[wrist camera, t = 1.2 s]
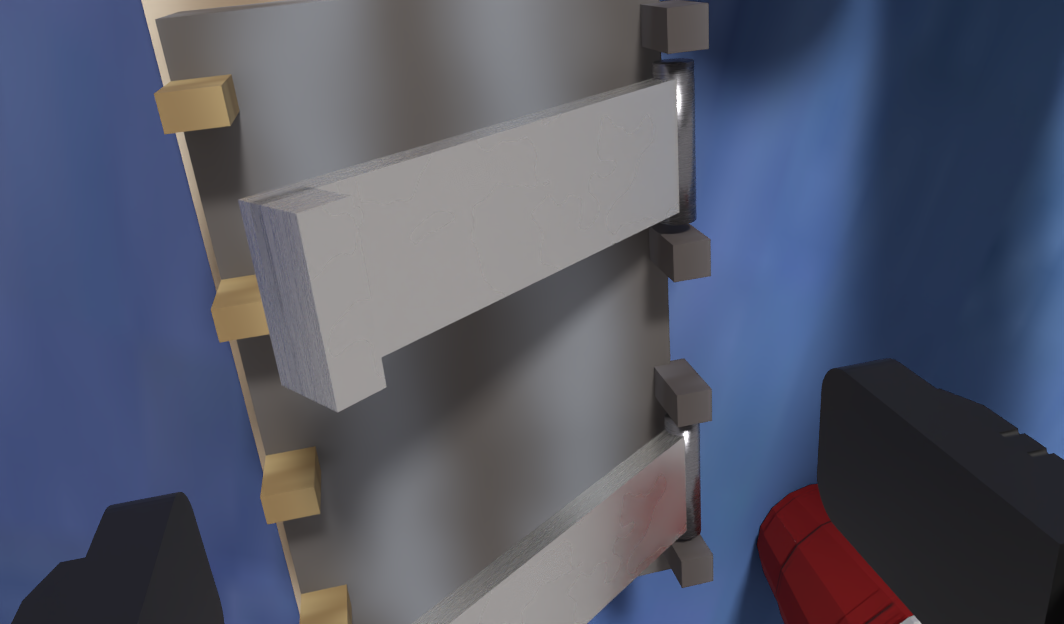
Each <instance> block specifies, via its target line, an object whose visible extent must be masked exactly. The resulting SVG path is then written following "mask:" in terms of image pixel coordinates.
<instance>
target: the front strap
mask: <svg viewBox="0 0 1064 624" xmlns="http://www.w3.org/2000/svg"><path fill="white" fill-rule="evenodd" d="M652 65H653V78H651V79H648V80H644V81H641V82H638V83H634V84H631V85H627V86H624V87H620V88H617V89H614V90H610V91H607V92H603V93H600V94H597V95H593V96H590V97H586V98H583V99H580V100H576V101H573V102H569V103H566V104H562V105H559V106H556V107H552V108H549V109H545V110H542V111H539V112H535V113H532V114H528V115H525V116H522V117H518V118H515V119H511V120H508V121H505V122H501V123H498V124H494V125H491V126H487V127H484V128H481V129H477V130H474V131H470V132H467V133H464V134H460V135H457V136H453V137H450V138H447V139H443V140H440V141H436V142H433V143H429V144H426V145H423V146H419V147H416V148H412V149H409V150H406V151H402V152H399V153H395V154H392V155H389V156H385V157H382V158H378V159H375V160H371V161H368V162H365V163H361V164H358V165H354V166H351V167H348V168H344V169H341V170H337V171H334V172H331V173H327V174H324V175H320V176H317V177H314V178H310V179H307V180H303V181H300V182H296V183H293V184H290V185H286V186H283V187H279V188H276V189H273V190H269V191H266V192H262V193H259V194H256V195H252V196H249V197H245V198H242V199H238V202H239V207H240V211H241V215H242V219H243V224H244V228H245V232H246V236H247V241H248V245H249V249H250V253H251V257H252V262H253V266H254V270H255V274H256V279H257V283H258V287H259V291H260V296H261V300H262V304H263V308H264V312H265V317H266V321H267V325H268V329H269V334H270V338H271V342H272V346H273V351H274V355H275V359H276V363H277V367H278V372H279V376H280V380H281V384H282V386H285V387H287V388H289V389H291V390H293V391H295V392H297V393H299V394H301V395H303V396H305V397H307V398H309V399H311V400H313V401H315V402H317V403H319V404H321V405H323V406H326V407H328V408H330V409H332V410H334V411H336V412H340V411H342V410H344V409H346V408H347V407H349V406H351V405H353V404H355V403H357V402H359V401H361V400H363V399H365V398H367V397H369V396H371V395H373V394H374V393H376V392H378V391H380V390H382V389H384V388H386V387H387V386H386V381H385V375H384V370H383V364H382V359H381V357H383V356H385V355H387V354H390V353H392V352H394V351H396V350H398V349H400V348H402V347H404V346H406V345H408V344H410V343H412V342H414V341H416V340H418V339H420V338H422V337H424V336H427V335H429V334H431V333H433V332H435V331H437V330H439V329H441V328H443V327H445V326H447V325H449V324H451V323H453V322H455V321H457V320H459V319H461V318H463V317H466V316H468V315H470V314H472V313H474V312H476V311H478V310H480V309H482V308H484V307H486V306H488V305H490V304H492V303H494V302H496V301H498V300H500V299H503V298H505V297H507V296H509V295H511V294H513V293H515V292H517V291H519V290H521V289H523V288H525V287H527V286H529V285H531V284H533V283H535V282H537V281H539V280H542V279H544V278H546V277H548V276H550V275H552V274H554V273H556V272H558V271H560V270H562V269H564V268H566V267H568V266H570V265H572V264H574V263H576V262H579V261H581V260H583V259H585V258H587V257H589V256H591V255H593V254H595V253H597V252H599V251H601V250H603V249H605V248H607V247H609V246H611V245H613V244H615V243H618V242H620V241H622V240H624V239H626V238H628V237H630V236H632V235H634V234H636V233H638V232H640V231H642V230H644V229H646V228H648V227H650V226H652V225H655V224H657V223H659V222H660V223H662V224H667V225H683V224H688V223H691V222H694V221H695V220H696V156H695V88H694V60H693V59H687V58H678V59H666V60H660V61H655V62H653V63H652Z"/></svg>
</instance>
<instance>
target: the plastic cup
mask: <svg viewBox="0 0 1064 624" xmlns="http://www.w3.org/2000/svg"><path fill="white" fill-rule="evenodd" d="M757 548H758V551H759V556H760V560H761V564H762V568H763V571H764V574H765V576H766V578H767V580H768V583H769V585H770V587H771V589H772V591H773V594H774V596H775V598H776V600H777V602H778V606H779V610H780V614H781V616H782V619H783V621H784V624H921V623H920V621H919V620H918V619H917V618H916V617H915V616H914V615H913V614H912V612H911V611H910V610H909V609H908V608H907V607H906V606H905V605H904V603H903V602H902V601H901V600H900V599H899V598H898V597H897V596H896V594H895V593H894V592H893V591H892V590H891V589H890V588H889V587H888V585H887V584H886V583H885V582H884V581H883V580H882V579H881V578H880V576H879V575H878V574H877V573H876V572H875V571H874V570H873V569H872V567H871V566H870V565H869V564H868V563H867V562H866V561H865V559H864V558H863V557H862V556H861V555H860V554H859V553H858V552H857V550H856V549H855V548H854V547H853V546H852V545H851V544H850V543H849V541H848V540H847V539H846V538H845V537H844V536H843V535H842V534H841V532H840V531H839V530H838V529H837V528H836V527H835V525H834V524H833V523H832V521H831V520H830V518H829V517H828V515H827V513H826V511H825V508H824V506H823V503H822V500H821V497H820V493H819V488H818V484H811V485H808V486H806V487H803V488H801V489H799V490H796V491H794V492H791V493H789V494H788V495H787V496H786V497H785V498H783V499H782V500H781V501H780V502H779V503H777V504H776V505H775V506H774V507H773V508H772V509H771V511H770V512H769V514H768V515H767V517H766V518H765V520H764V522H763V523H762V525H761V527H760V532H759V536H758V541H757Z"/></svg>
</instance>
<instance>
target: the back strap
mask: <svg viewBox="0 0 1064 624" xmlns="http://www.w3.org/2000/svg"><path fill="white" fill-rule="evenodd" d="M664 421H665V430H663V431H662V432H661V433H659V434H658V435H657V436H656V437H654V438H653V439H652V440H650V441H649V442H648V443H646V444H645V445H644V446H642V447H641V448H640V449H639V450H637V451H636V452H635V453H633V454H632V455H631V456H629V457H628V458H627V459H626V460H624V461H623V462H622V463H620V464H619V465H618V466H616V467H615V468H614V469H613V470H611V471H610V472H609V473H607V474H606V475H605V476H603V477H602V478H601V479H599V480H598V481H597V482H596V483H594V484H593V485H592V486H590V487H589V488H588V489H586V490H585V491H584V492H583V493H581V494H580V495H579V496H577V497H576V498H575V499H573V500H572V501H571V502H569V503H568V504H567V505H566V506H564V507H563V508H562V509H560V510H559V511H558V512H556V513H555V514H554V515H553V516H551V517H550V518H549V519H547V520H546V521H545V522H543V523H542V524H541V525H540V526H538V527H537V528H536V529H534V530H533V531H532V532H530V533H529V534H528V535H526V536H525V537H524V538H523V539H521V540H520V541H519V542H517V543H516V544H515V545H513V546H512V547H511V548H510V549H508V550H507V551H506V552H504V553H503V554H502V555H500V556H499V557H498V558H497V559H495V560H494V561H493V562H491V563H490V564H489V565H487V566H486V567H485V568H483V569H482V570H481V571H480V572H478V573H477V574H476V575H474V576H473V577H472V578H470V579H469V580H468V581H467V582H465V583H464V584H463V585H461V586H460V587H459V588H457V589H456V590H455V591H453V592H452V593H451V594H450V595H448V596H447V597H446V598H444V599H443V600H442V601H440V602H439V603H438V604H437V605H435V606H434V607H433V608H431V609H430V610H429V611H427V612H426V613H425V614H424V615H422V616H421V617H420V618H418V619H417V620H416V621H414V622H413V623H412V624H587V623H588V622H589V621H590V620H591V619H592V618H593V617H594V616H595V615H597V614H598V613H599V612H600V611H601V610H602V609H603V608H604V607H605V606H606V605H607V604H608V603H609V602H610V601H612V600H613V599H614V598H615V597H616V596H617V595H618V594H619V593H620V592H621V591H622V590H623V589H624V588H626V587H627V586H628V585H629V584H630V583H631V582H632V581H633V580H634V579H635V578H636V577H637V576H638V575H640V574H641V573H642V572H643V571H644V570H645V569H646V568H647V567H648V566H649V565H650V564H651V563H652V562H654V561H655V560H656V559H657V558H658V557H659V556H660V555H661V554H662V553H663V552H664V551H665V550H666V549H668V548H669V547H670V546H671V545H672V544H673V543H674V542H675V541H676V540H677V539H684V540H686V539H692V538H695V537H697V536H698V535H699V534H700V532H701V495H700V427H699V423H698V424H693V425H688V426H683V427H677V425H676V424H675V423H674V421H673V420H672V419H671V417H670V416H669V415H668V413H666V414H665V416H664Z"/></svg>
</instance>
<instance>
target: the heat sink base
mask: <svg viewBox="0 0 1064 624" xmlns="http://www.w3.org/2000/svg"><path fill="white" fill-rule="evenodd" d="M141 1H142V4H143V8H144V12H145V16H146V20H147V24H148V28H149V32H150V35H151V39H152V43H153V47H154V51H155V55H156V59H157V63H158V66H159V70H160V74H161V78H162V82H163V86H164V87H162V88H161V89H160V90H158V91H157V92H156V93H154V96H155V99H156V103H157V107H158V111H159V115H160V118H161V122H162V126H163V130H164V134H170V133H176V136H177V140H178V144H179V148H180V152H181V156H182V159H183V163H184V167H185V171H186V175H187V179H188V183H189V187H190V190H191V194H192V198H193V202H194V206H195V210H196V214H197V218H198V221H199V225H200V229H201V233H202V237H203V241H204V245H205V249H206V252H207V256H208V260H209V264H210V268H211V272H212V276H213V280H214V283H215V287H216V291H217V293H216V296H215V299H214V302H213V305H212V308H211V312H212V316H213V320H214V323H215V327H216V331H217V335H218V339H219V342H225V341H229V342H230V345H231V349H232V353H233V357H234V361H235V365H236V369H237V373H238V376H239V380H240V384H241V388H242V392H243V396H244V400H245V404H246V407H247V411H248V415H249V419H250V423H251V427H252V431H253V435H254V438H255V442H256V446H257V450H258V454H259V458H260V462H261V466H262V469H263V481H262V489H261V496H260V498H261V502H262V506H263V509H264V513H265V517H266V521H267V524H272V523H276V524H277V528H278V531H279V535H280V539H281V543H282V547H283V551H284V555H285V559H286V562H287V566H288V570H289V574H290V578H291V582H292V586H293V590H294V593H295V597H296V601H297V605H298V609H299V613H300V624H412V623H413V622H414V621H416V620H417V619H418V618H420V617H421V616H422V615H424V614H425V613H426V612H427V611H429V610H430V609H431V608H433V607H434V606H435V605H437V604H438V603H439V602H440V601H442V600H443V599H444V598H446V597H447V596H448V595H450V594H451V593H452V592H453V591H455V590H456V589H457V588H459V587H460V586H461V585H463V584H464V583H465V582H467V581H468V580H469V579H470V578H472V577H473V576H474V575H476V574H477V573H478V572H480V571H481V570H482V569H483V568H485V567H486V566H487V565H489V564H490V563H491V562H493V561H494V560H495V559H497V558H498V557H499V556H500V555H502V554H503V553H504V552H506V551H507V550H508V549H510V548H511V547H512V546H513V545H515V544H516V543H517V542H519V541H520V540H521V539H523V538H524V537H525V536H526V535H528V534H529V533H530V532H532V531H533V530H534V529H536V528H537V527H538V526H540V525H541V524H542V523H543V522H545V521H546V520H547V519H549V518H550V517H551V516H553V515H554V514H555V513H556V512H558V511H559V510H560V509H562V508H563V507H564V506H566V505H567V504H568V503H569V502H571V501H572V500H573V499H575V498H576V497H577V496H579V495H580V494H581V493H583V492H584V491H585V490H586V489H588V488H589V487H590V486H592V485H593V484H594V483H596V482H597V481H598V480H599V479H601V478H602V477H603V476H605V475H606V474H607V473H609V472H610V471H611V470H613V469H614V468H615V467H616V466H618V465H619V464H620V463H622V462H623V461H624V460H626V459H627V458H628V457H629V456H631V455H632V454H633V453H635V452H636V451H637V450H639V449H640V448H641V447H642V446H644V445H645V444H646V443H648V442H649V441H650V440H652V439H653V438H654V437H656V436H657V435H658V434H659V433H661V432H662V431H663V430H665V421H664V416H665V414H666V413H668V415H669V416H670V417H671V419H672V420H673V421H674V423H675V424H676V425H677V427H683V426H688V425H693V424H698V423H703V422H708V421H712V389H711V388H710V387H709V386H708V385H707V383H706V382H705V381H704V380H703V379H702V378H701V377H700V376H699V374H698V373H697V372H696V371H695V370H694V369H693V368H692V367H691V365H690V364H689V363H688V362H687V361H686V360H685V359H679V360H673V361H670V339H669V305H668V277H669V278H670V279H671V280H672V281H673V282H678V281H684V280H690V279H696V278H702V277H708V276H711V251H710V239H709V238H708V237H707V236H705V235H704V234H702V233H701V232H700V231H698V230H697V229H696V228H694V227H693V226H691V225H690V224H689V223H688V224H683V225H667V224H662V223H660V222H659V223H657V224H655V225H652V226H650V227H648V228H646V229H644V230H642V231H640V232H638V233H636V234H634V235H632V236H630V237H628V238H626V239H624V240H622V241H620V242H618V243H615V244H613V245H611V246H609V247H607V248H605V249H603V250H601V251H599V252H597V253H595V254H593V255H591V256H589V257H587V258H585V259H583V260H581V261H579V262H576V263H574V264H572V265H570V266H568V267H566V268H564V269H562V270H560V271H558V272H556V273H554V274H552V275H550V276H548V277H546V278H544V279H542V280H539V281H537V282H535V283H533V284H531V285H529V286H527V287H525V288H523V289H521V290H519V291H517V292H515V293H513V294H511V295H509V296H507V297H505V298H503V299H500V300H498V301H496V302H494V303H492V304H490V305H488V306H486V307H484V308H482V309H480V310H478V311H476V312H474V313H472V314H470V315H468V316H466V317H463V318H461V319H459V320H457V321H455V322H453V323H451V324H449V325H447V326H445V327H443V328H441V329H439V330H437V331H435V332H433V333H431V334H429V335H427V336H424V337H422V338H420V339H418V340H416V341H414V342H412V343H410V344H408V345H406V346H404V347H402V348H400V349H398V350H396V351H394V352H392V353H390V354H387V355H385V356H383V357H381V359H382V364H383V370H384V375H385V381H386V386H387V387H386V388H384V389H382V390H380V391H378V392H376V393H374V394H373V395H371V396H369V397H367V398H365V399H363V400H361V401H359V402H357V403H355V404H353V405H351V406H349V407H347V408H346V409H344V410H342V411H340V412H336V411H334V410H332V409H330V408H328V407H326V406H323V405H321V404H319V403H317V402H315V401H313V400H311V399H309V398H307V397H305V396H303V395H301V394H299V393H297V392H295V391H293V390H291V389H289V388H287V387H285V386H282V384H281V380H280V376H279V372H278V367H277V363H276V359H275V355H274V351H273V346H272V342H271V338H270V334H269V329H268V325H267V321H266V317H265V312H264V308H263V304H262V300H261V296H260V291H259V287H258V283H257V279H256V274H255V270H254V266H253V262H252V257H251V253H250V249H249V245H248V241H247V236H246V232H245V228H244V224H243V219H242V215H241V211H240V207H239V202H238V199H242V198H245V197H249V196H252V195H256V194H259V193H262V192H266V191H269V190H273V189H276V188H279V187H283V186H286V185H290V184H293V183H296V182H300V181H303V180H307V179H310V178H314V177H317V176H320V175H324V174H327V173H331V172H334V171H337V170H341V169H344V168H348V167H351V166H354V165H358V164H361V163H365V162H368V161H371V160H375V159H378V158H382V157H385V156H389V155H392V154H395V153H399V152H402V151H406V150H409V149H412V148H416V147H419V146H423V145H426V144H429V143H433V142H436V141H440V140H443V139H447V138H450V137H453V136H457V135H460V134H464V133H467V132H470V131H474V130H477V129H481V128H484V127H487V126H491V125H494V124H498V123H501V122H505V121H508V120H511V119H515V118H518V117H522V116H525V115H528V114H532V113H535V112H539V111H542V110H545V109H549V108H552V107H556V106H559V105H562V104H566V103H569V102H573V101H576V100H580V99H583V98H586V97H590V96H593V95H597V94H600V93H603V92H607V91H610V90H614V89H617V88H620V87H624V86H627V85H631V84H634V83H638V82H641V81H644V80H648V79H651V78H653V65H652V63H653V62H655V61H660V60H661V52H663V53H667V54H671V53H679V52H687V51H695V50H703V49H709V3H702V2H693V1H684V0H669V1H661V2H659V0H141ZM667 569H672V571H673V573H674V574H675V576H676V578H677V580H678V581H679V583H680V585H681V587H682V588H684V587H689V586H693V585H697V584H702V583H706V582H710V581H713V554H712V552H711V551H710V549H709V548H708V546H707V545H706V543H705V542H704V540H703V538H702V537H701V535H700V534H699V535H698V536H697V537H695V538H692V539H686V540H684V539H677V540H676V541H675V542H674V543H673V544H672V545H671V546H670V547H669V548H668V549H666V550H665V551H664V552H663V553H662V554H661V555H660V556H659V557H658V558H657V559H656V560H655V561H654V562H652V563H651V564H650V565H649V566H648V567H647V568H646V569H645V570H644V571H643V572H642V573H641V574H640V575H638V576H641V575H645V574H650V573H654V572H658V571H663V570H667Z"/></svg>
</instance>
